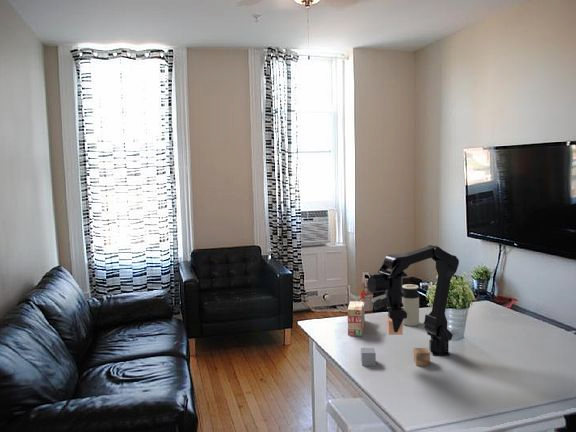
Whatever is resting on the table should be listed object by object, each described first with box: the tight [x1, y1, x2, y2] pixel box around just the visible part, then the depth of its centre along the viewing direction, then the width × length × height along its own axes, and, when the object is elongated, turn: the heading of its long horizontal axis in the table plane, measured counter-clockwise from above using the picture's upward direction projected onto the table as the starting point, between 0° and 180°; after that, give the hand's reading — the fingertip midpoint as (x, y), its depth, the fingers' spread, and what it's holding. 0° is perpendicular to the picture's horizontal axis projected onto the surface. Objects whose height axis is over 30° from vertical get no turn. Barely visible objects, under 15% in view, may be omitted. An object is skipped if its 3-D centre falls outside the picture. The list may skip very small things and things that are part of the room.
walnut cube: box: [413, 347, 431, 367], centre depth 180 cm, size 5×5×5 cm
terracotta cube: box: [386, 316, 404, 336], centre depth 179 cm, size 5×5×5 cm
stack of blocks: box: [347, 300, 366, 337], centre depth 220 cm, size 21×6×12 cm, turn 168°
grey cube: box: [360, 347, 377, 367], centre depth 181 cm, size 5×5×5 cm
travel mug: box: [401, 283, 420, 327], centre depth 223 cm, size 8×8×18 cm
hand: (394, 329), depth 179 cm, fingers closed on terracotta cube, 5 cm apart
